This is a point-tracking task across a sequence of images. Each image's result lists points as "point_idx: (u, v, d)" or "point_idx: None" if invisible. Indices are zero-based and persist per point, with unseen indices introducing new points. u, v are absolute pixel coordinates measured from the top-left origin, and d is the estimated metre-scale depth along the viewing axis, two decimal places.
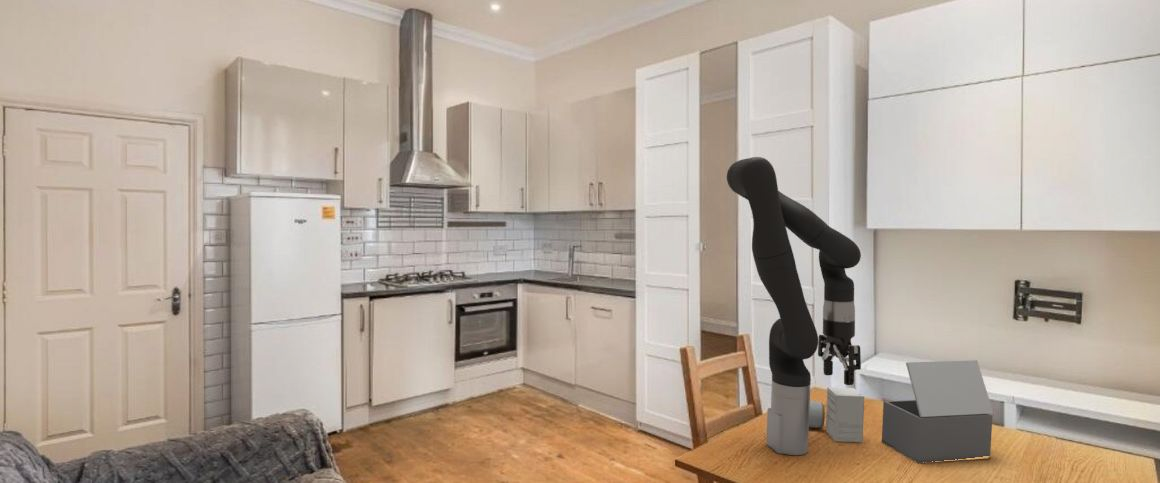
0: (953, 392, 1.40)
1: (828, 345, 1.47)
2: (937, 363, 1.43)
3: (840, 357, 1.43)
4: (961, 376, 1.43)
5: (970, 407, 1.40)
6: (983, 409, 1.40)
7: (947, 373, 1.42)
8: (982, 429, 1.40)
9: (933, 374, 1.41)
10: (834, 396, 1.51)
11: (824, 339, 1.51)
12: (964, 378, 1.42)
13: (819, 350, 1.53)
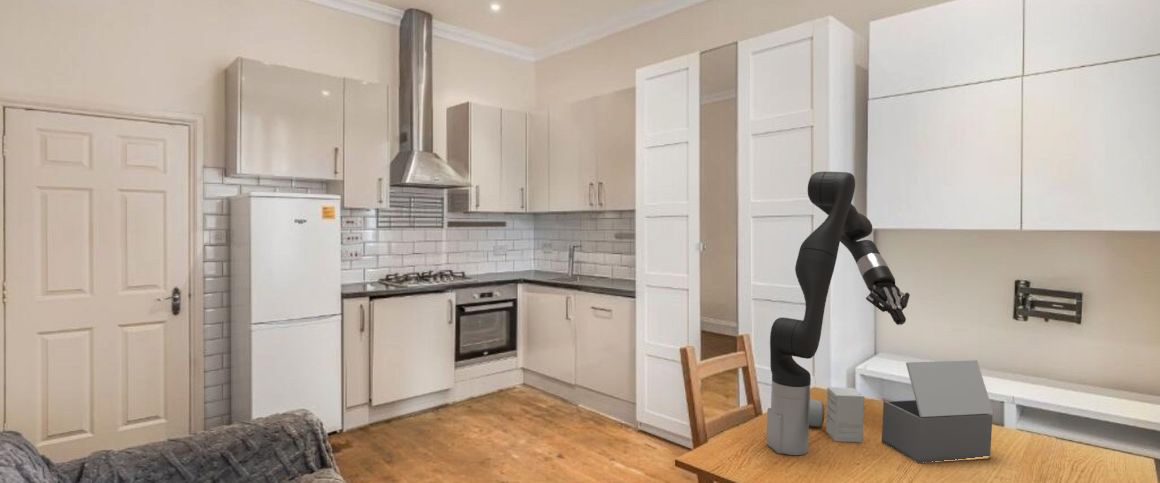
0: (953, 392, 1.40)
1: (886, 289, 1.61)
2: (937, 363, 1.43)
3: (897, 298, 1.60)
4: (961, 376, 1.43)
5: (970, 407, 1.40)
6: (983, 409, 1.40)
7: (947, 373, 1.42)
8: (982, 429, 1.40)
9: (933, 374, 1.41)
10: (834, 396, 1.51)
11: None
12: (964, 378, 1.42)
13: (884, 302, 1.58)
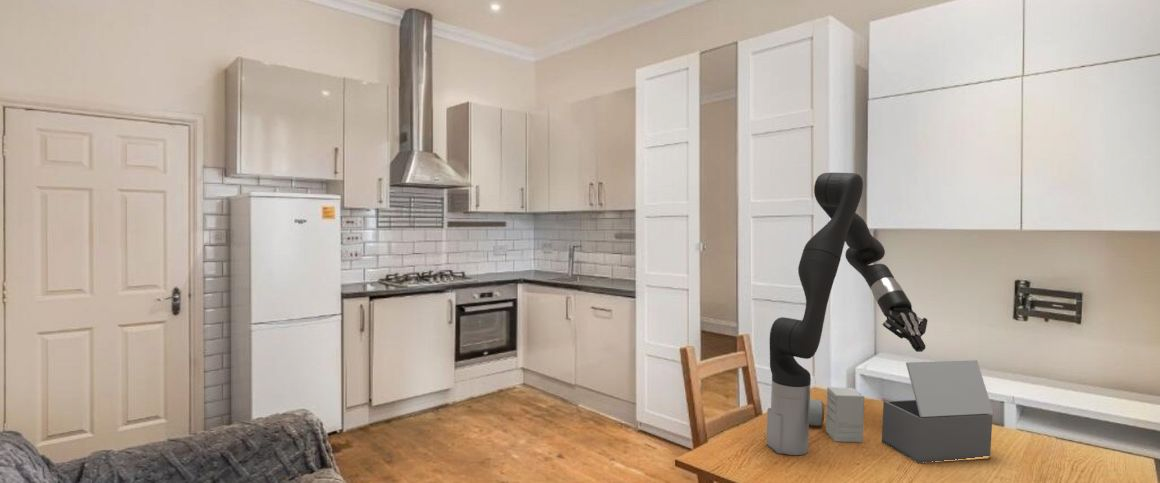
0: (953, 392, 1.40)
1: (903, 315, 1.55)
2: (937, 363, 1.43)
3: (915, 323, 1.54)
4: (961, 376, 1.43)
5: (970, 407, 1.40)
6: (983, 409, 1.40)
7: (947, 373, 1.42)
8: (982, 429, 1.40)
9: (933, 374, 1.41)
10: (834, 396, 1.51)
11: None
12: (964, 378, 1.42)
13: (902, 328, 1.53)
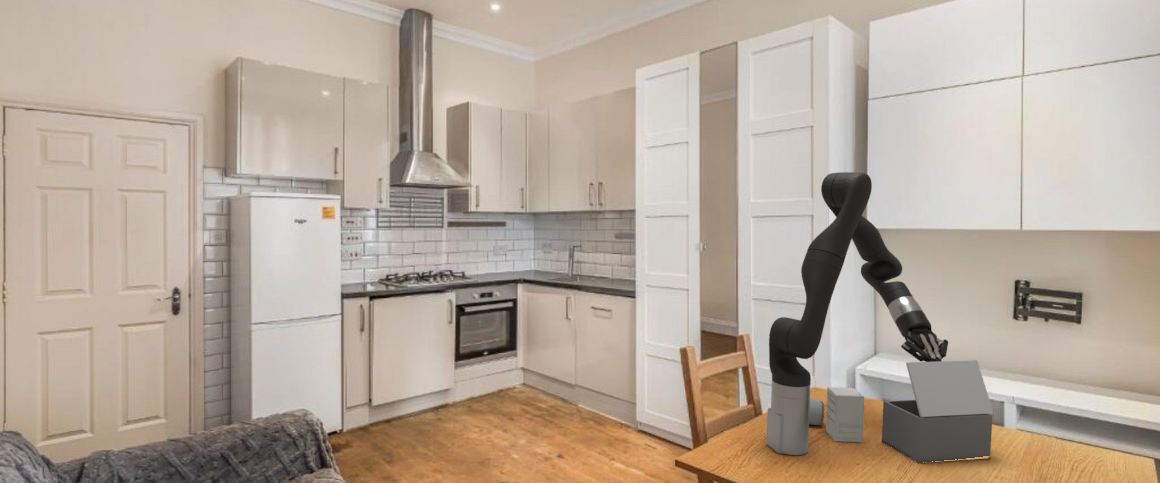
0: (953, 392, 1.40)
1: (922, 336, 1.48)
2: (937, 363, 1.43)
3: (936, 346, 1.47)
4: (961, 376, 1.42)
5: (970, 407, 1.40)
6: (983, 409, 1.40)
7: (947, 373, 1.42)
8: (982, 429, 1.40)
9: (933, 374, 1.41)
10: (834, 396, 1.51)
11: None
12: (964, 378, 1.42)
13: (921, 351, 1.46)
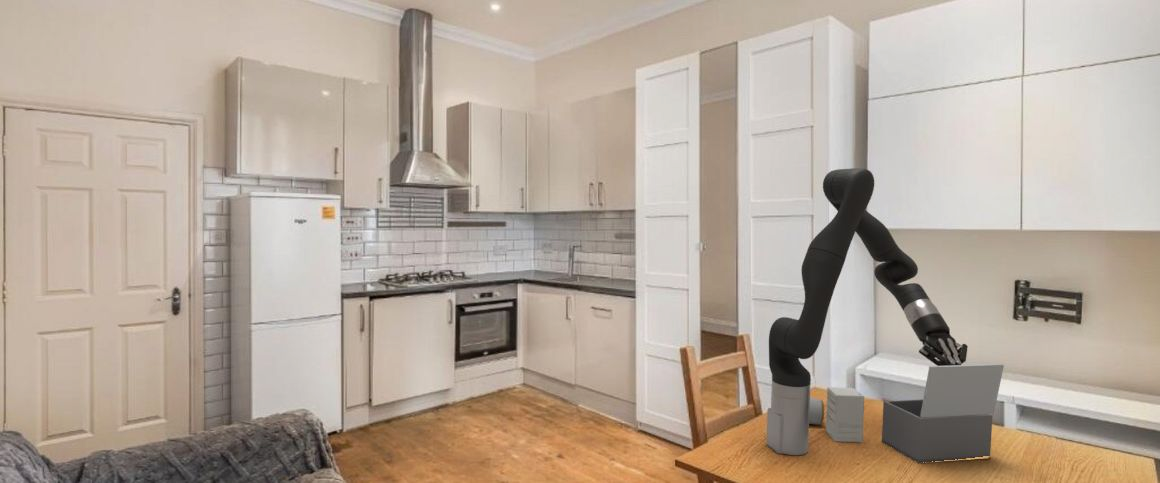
0: (964, 395, 1.37)
1: (941, 341, 1.42)
2: (961, 368, 1.36)
3: (955, 351, 1.41)
4: (979, 380, 1.37)
5: (973, 409, 1.39)
6: (985, 410, 1.39)
7: (967, 377, 1.36)
8: (982, 429, 1.40)
9: (952, 378, 1.36)
10: (834, 396, 1.51)
11: None
12: (981, 382, 1.37)
13: (940, 356, 1.40)
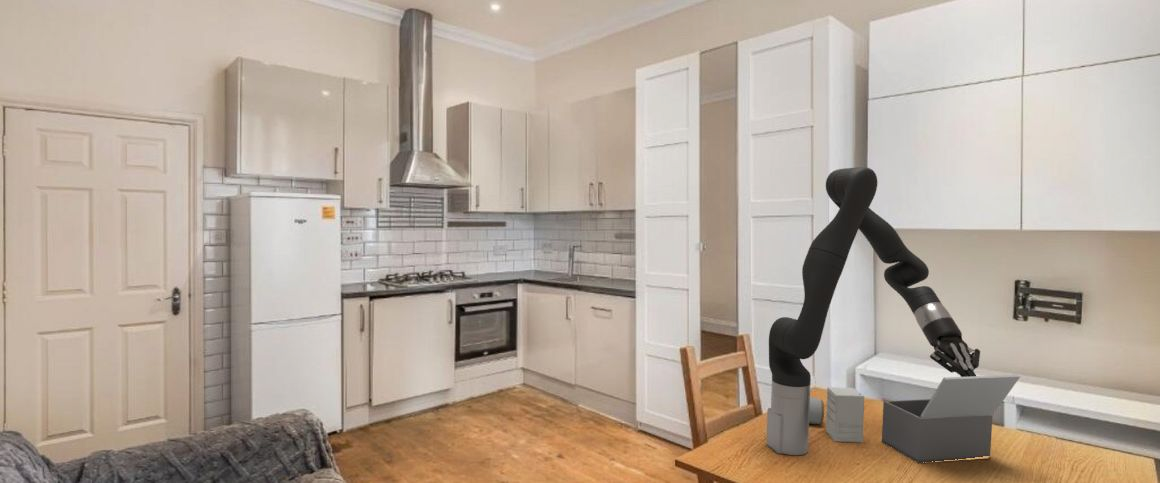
0: (970, 401, 1.36)
1: (953, 346, 1.39)
2: (976, 379, 1.32)
3: (967, 356, 1.38)
4: (990, 388, 1.34)
5: (975, 410, 1.38)
6: (986, 412, 1.39)
7: (978, 387, 1.33)
8: (982, 429, 1.40)
9: (963, 388, 1.33)
10: (834, 396, 1.51)
11: None
12: (992, 390, 1.35)
13: (952, 362, 1.36)
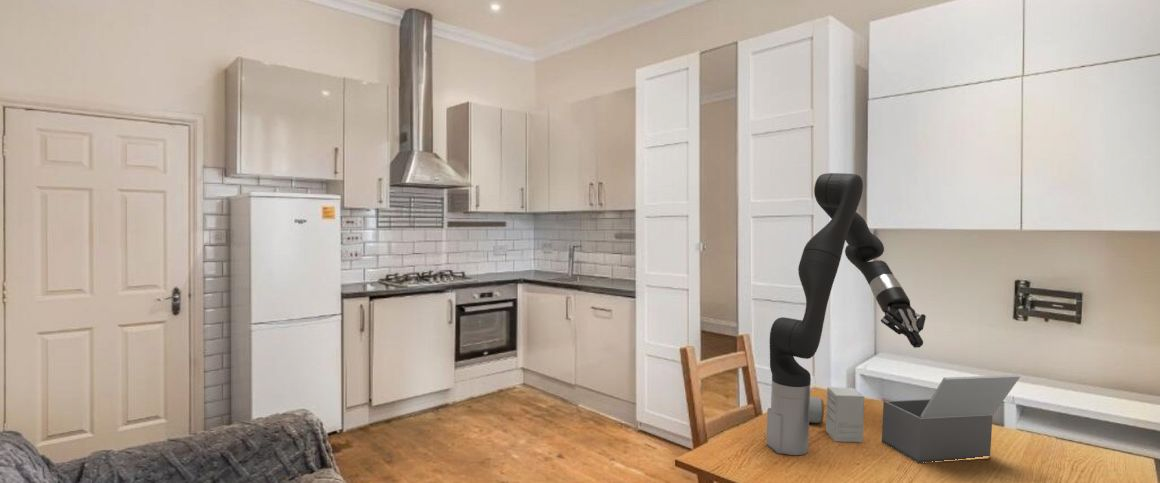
0: (970, 401, 1.36)
1: (901, 311, 1.56)
2: (976, 379, 1.32)
3: (913, 320, 1.55)
4: (990, 389, 1.34)
5: (975, 410, 1.38)
6: (986, 412, 1.39)
7: (978, 387, 1.33)
8: (982, 429, 1.40)
9: (963, 388, 1.33)
10: (834, 396, 1.51)
11: None
12: (992, 390, 1.35)
13: (899, 325, 1.54)
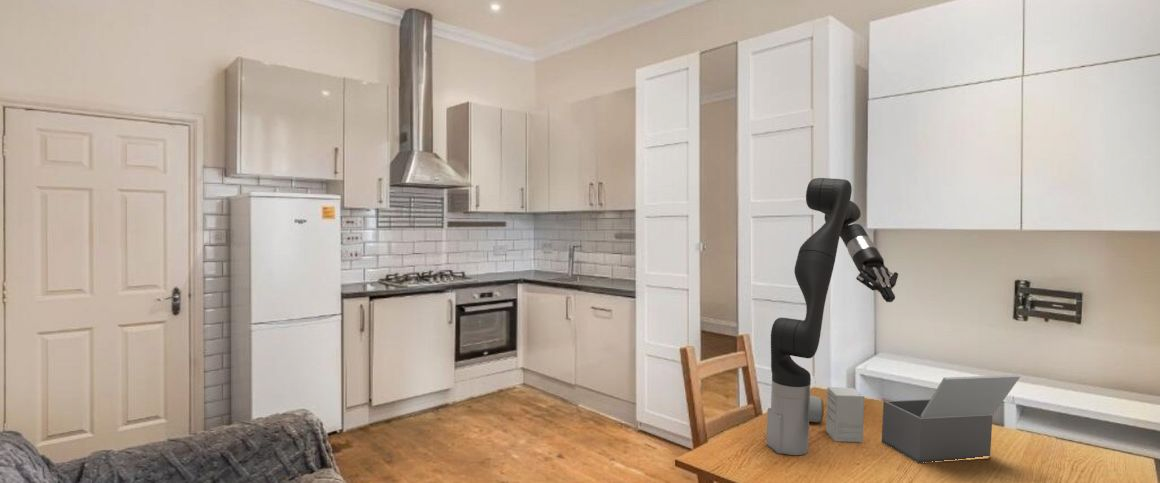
0: (970, 401, 1.36)
1: (875, 269, 1.66)
2: (976, 379, 1.32)
3: (886, 277, 1.65)
4: (990, 389, 1.34)
5: (975, 410, 1.38)
6: (986, 412, 1.39)
7: (978, 387, 1.33)
8: (982, 429, 1.40)
9: (963, 388, 1.33)
10: (834, 396, 1.51)
11: None
12: (992, 390, 1.35)
13: (873, 281, 1.64)
